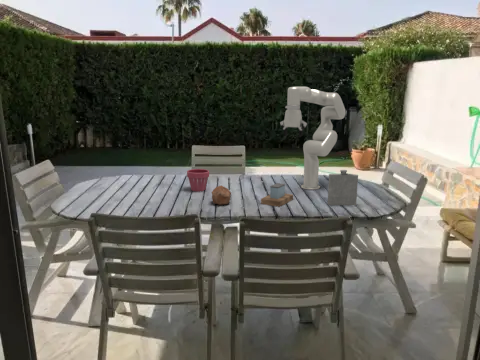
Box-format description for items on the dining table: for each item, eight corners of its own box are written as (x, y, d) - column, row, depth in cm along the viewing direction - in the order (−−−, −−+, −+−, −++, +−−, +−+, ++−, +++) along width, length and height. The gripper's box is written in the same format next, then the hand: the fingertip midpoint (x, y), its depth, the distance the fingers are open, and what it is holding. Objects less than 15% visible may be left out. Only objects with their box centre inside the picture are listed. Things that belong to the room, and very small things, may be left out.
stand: (274, 196, 247) (275, 191, 247) (293, 199, 241) (293, 194, 241) (260, 203, 232) (261, 198, 232) (279, 206, 226) (280, 201, 226)
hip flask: (327, 204, 230) (329, 170, 226) (327, 202, 234) (328, 169, 230) (356, 205, 228) (358, 171, 224) (355, 203, 232) (357, 169, 228)
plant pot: (211, 187, 270) (210, 168, 267) (207, 193, 256) (207, 173, 253) (190, 187, 271) (189, 168, 268) (185, 192, 257) (184, 172, 255)
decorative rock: (211, 200, 239) (211, 184, 237) (230, 200, 240) (230, 183, 238) (211, 206, 227) (211, 189, 224) (231, 206, 227) (231, 189, 225)
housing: (270, 197, 234) (270, 186, 232) (277, 194, 241) (277, 183, 240) (277, 198, 231) (278, 187, 230) (284, 195, 239) (284, 184, 237)
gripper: (277, 108, 245) (277, 136, 249) (304, 108, 236) (303, 138, 240) (283, 107, 251) (282, 134, 255) (309, 108, 242) (308, 136, 246)
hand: (292, 136), depth 247 cm, fingers open, 9 cm apart
